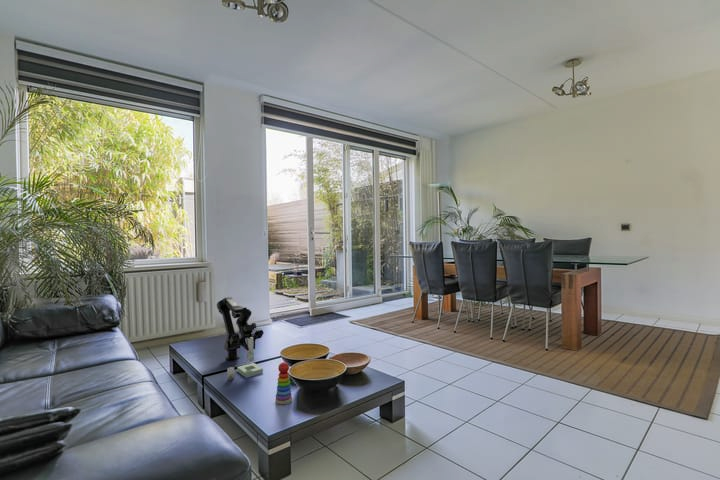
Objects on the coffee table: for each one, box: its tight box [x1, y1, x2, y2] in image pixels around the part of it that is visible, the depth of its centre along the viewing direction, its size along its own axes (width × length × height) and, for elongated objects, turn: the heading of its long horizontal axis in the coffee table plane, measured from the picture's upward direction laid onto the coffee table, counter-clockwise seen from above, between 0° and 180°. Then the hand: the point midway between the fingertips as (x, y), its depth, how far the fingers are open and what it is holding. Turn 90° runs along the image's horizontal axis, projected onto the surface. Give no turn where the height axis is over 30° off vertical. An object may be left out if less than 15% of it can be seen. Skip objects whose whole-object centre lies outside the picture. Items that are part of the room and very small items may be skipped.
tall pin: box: [246, 337, 255, 362], centre depth 211 cm, size 4×4×13 cm
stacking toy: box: [274, 361, 293, 406], centre depth 175 cm, size 8×8×19 cm
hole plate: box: [236, 362, 264, 379], centre depth 211 cm, size 12×10×2 cm
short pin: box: [226, 366, 235, 381], centre depth 201 cm, size 4×4×6 cm
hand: (251, 349), depth 209 cm, fingers closed on tall pin, 4 cm apart
